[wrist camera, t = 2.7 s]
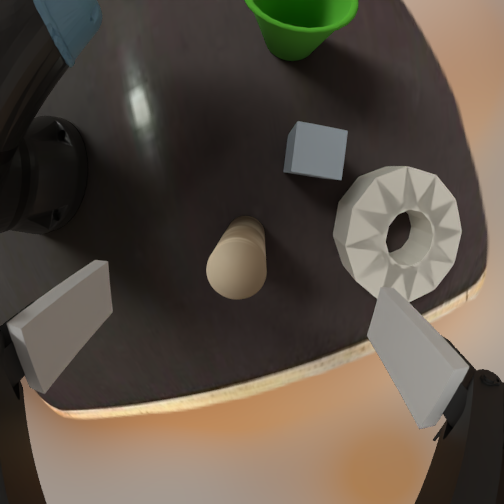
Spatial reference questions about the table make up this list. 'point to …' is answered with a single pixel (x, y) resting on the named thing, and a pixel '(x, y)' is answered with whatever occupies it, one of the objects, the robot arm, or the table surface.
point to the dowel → (239, 260)
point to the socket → (378, 221)
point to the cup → (300, 23)
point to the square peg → (315, 151)
